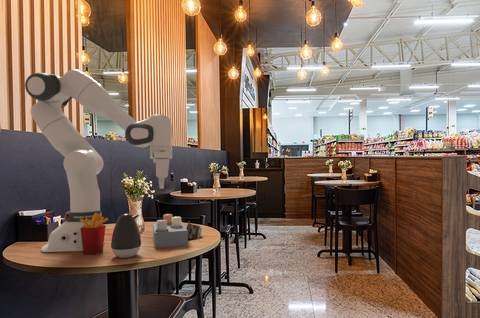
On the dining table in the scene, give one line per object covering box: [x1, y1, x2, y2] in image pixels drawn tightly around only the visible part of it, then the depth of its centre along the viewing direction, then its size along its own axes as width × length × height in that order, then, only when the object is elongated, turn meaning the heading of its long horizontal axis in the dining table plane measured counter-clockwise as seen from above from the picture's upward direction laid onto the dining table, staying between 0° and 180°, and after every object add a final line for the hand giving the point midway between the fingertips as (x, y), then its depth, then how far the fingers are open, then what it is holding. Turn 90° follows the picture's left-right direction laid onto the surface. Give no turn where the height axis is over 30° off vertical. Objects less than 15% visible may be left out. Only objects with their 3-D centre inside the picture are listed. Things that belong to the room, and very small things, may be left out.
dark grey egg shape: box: [110, 213, 142, 259], centre depth 119 cm, size 10×10×15 cm
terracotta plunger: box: [162, 213, 173, 225], centre depth 151 cm, size 4×4×5 cm
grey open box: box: [152, 221, 189, 249], centre depth 143 cm, size 13×23×6 cm, turn 16°
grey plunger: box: [156, 219, 167, 232], centre depth 135 cm, size 4×4×5 cm
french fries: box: [80, 213, 109, 256], centre depth 125 cm, size 9×8×15 cm
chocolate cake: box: [186, 221, 203, 240], centre depth 150 cm, size 10×7×12 cm
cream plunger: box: [172, 216, 182, 228], centre depth 143 cm, size 4×4×5 cm
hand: (161, 188), depth 135 cm, fingers closed
